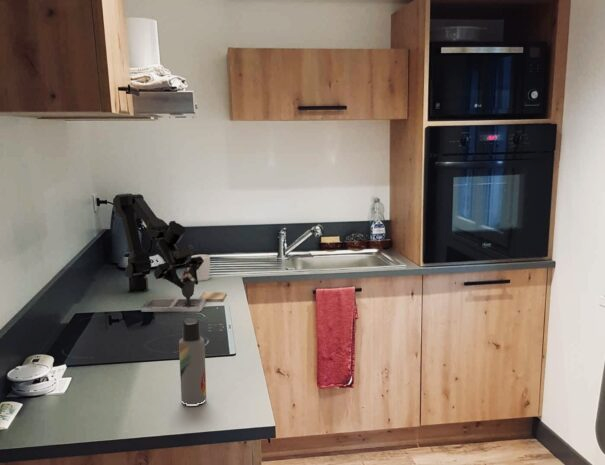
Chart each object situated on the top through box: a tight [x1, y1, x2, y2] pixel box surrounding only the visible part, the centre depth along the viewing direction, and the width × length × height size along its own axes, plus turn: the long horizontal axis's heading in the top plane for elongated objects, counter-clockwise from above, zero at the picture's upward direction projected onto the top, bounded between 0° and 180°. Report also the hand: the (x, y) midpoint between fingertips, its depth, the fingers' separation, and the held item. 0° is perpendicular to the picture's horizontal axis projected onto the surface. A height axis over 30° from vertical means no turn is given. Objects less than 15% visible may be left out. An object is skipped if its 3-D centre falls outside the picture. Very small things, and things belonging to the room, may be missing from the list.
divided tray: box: [140, 298, 207, 313], centre depth 198 cm, size 21×11×2 cm, turn 89°
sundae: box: [179, 266, 197, 307], centre depth 197 cm, size 7×7×15 cm
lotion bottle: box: [178, 316, 207, 404], centre depth 126 cm, size 6×6×20 cm
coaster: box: [198, 291, 227, 303], centre depth 209 cm, size 9×9×1 cm
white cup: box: [190, 254, 211, 282], centre depth 237 cm, size 8×8×10 cm
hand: (189, 286), depth 196 cm, fingers closed on sundae, 6 cm apart
